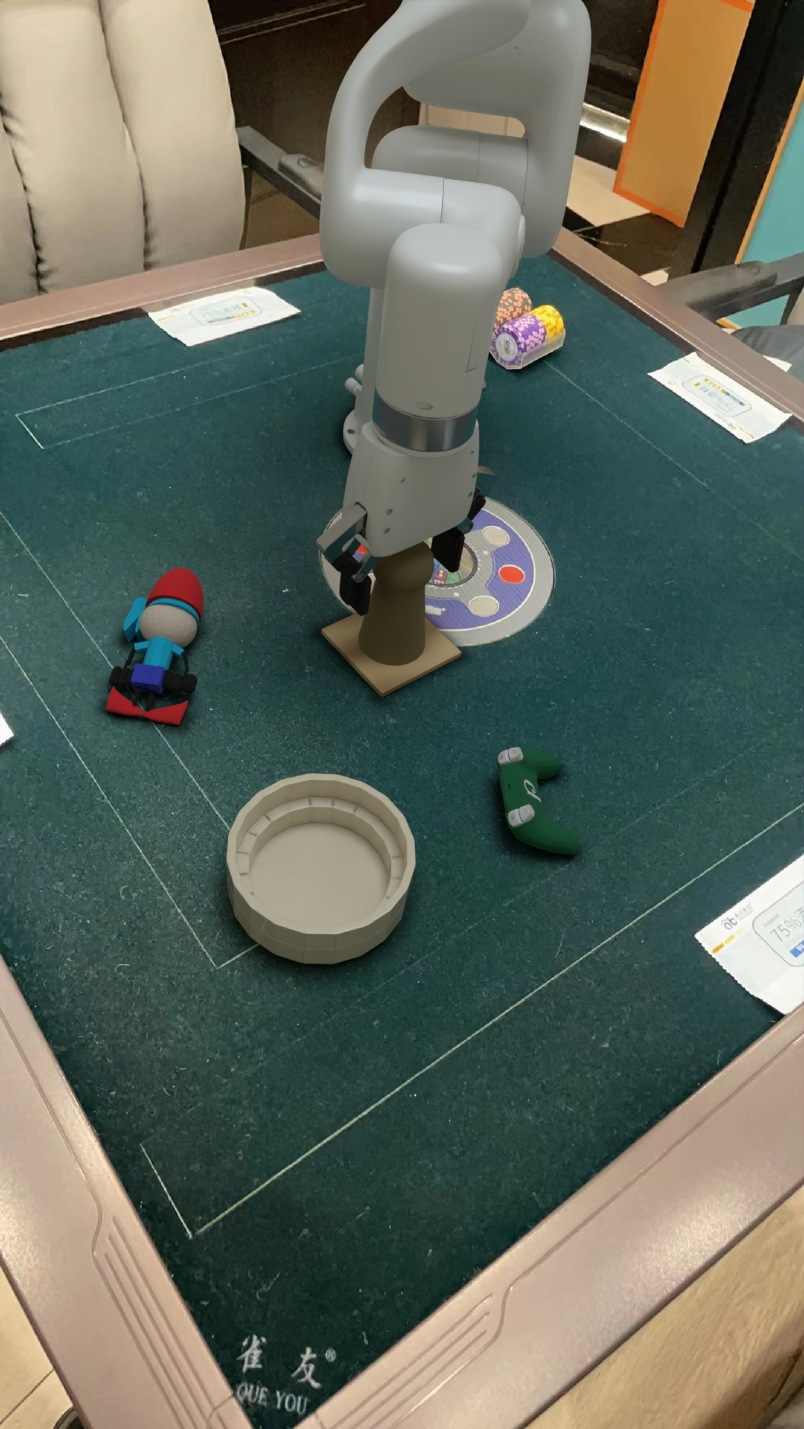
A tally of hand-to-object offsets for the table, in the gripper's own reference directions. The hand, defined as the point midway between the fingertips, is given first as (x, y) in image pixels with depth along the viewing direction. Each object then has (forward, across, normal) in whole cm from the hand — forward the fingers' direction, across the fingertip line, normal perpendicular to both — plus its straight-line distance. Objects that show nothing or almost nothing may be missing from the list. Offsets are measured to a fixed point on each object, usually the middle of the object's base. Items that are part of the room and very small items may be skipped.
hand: (399, 583), depth 88 cm
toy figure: (+8, +18, -9) cm, 21 cm away
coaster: (+7, 0, 0) cm, 7 cm away
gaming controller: (+8, +2, +21) cm, 22 cm away
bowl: (+7, +20, +17) cm, 27 cm away
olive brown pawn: (+7, 0, 0) cm, 7 cm away
